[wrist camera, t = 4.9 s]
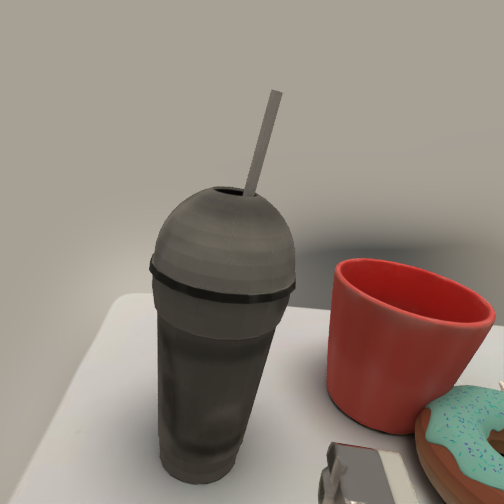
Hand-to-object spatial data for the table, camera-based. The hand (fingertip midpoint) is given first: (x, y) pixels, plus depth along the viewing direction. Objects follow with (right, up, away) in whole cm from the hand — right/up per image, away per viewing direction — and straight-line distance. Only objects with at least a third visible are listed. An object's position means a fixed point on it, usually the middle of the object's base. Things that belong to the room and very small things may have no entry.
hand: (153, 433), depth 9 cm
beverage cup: (-1, -8, +14) cm, 16 cm away
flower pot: (+12, -7, +21) cm, 25 cm away
